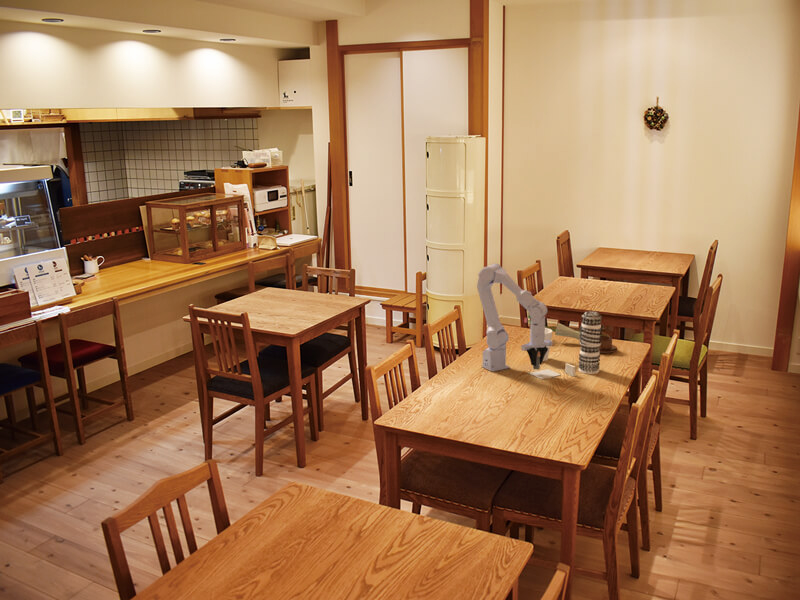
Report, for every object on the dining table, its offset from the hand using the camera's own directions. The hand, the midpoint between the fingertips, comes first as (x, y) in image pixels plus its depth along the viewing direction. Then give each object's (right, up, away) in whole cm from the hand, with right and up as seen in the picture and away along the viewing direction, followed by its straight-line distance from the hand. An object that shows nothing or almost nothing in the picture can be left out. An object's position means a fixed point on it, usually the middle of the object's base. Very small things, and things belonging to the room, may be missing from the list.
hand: (536, 364), depth 293 cm
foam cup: (+6, +1, +20) cm, 21 cm away
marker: (0, -2, 0) cm, 2 cm away
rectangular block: (+14, -4, 0) cm, 15 cm away
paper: (+4, -4, +1) cm, 6 cm away
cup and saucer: (+36, +3, +30) cm, 47 cm away
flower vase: (+19, +6, +44) cm, 48 cm away
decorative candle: (+23, -3, +5) cm, 24 cm away
